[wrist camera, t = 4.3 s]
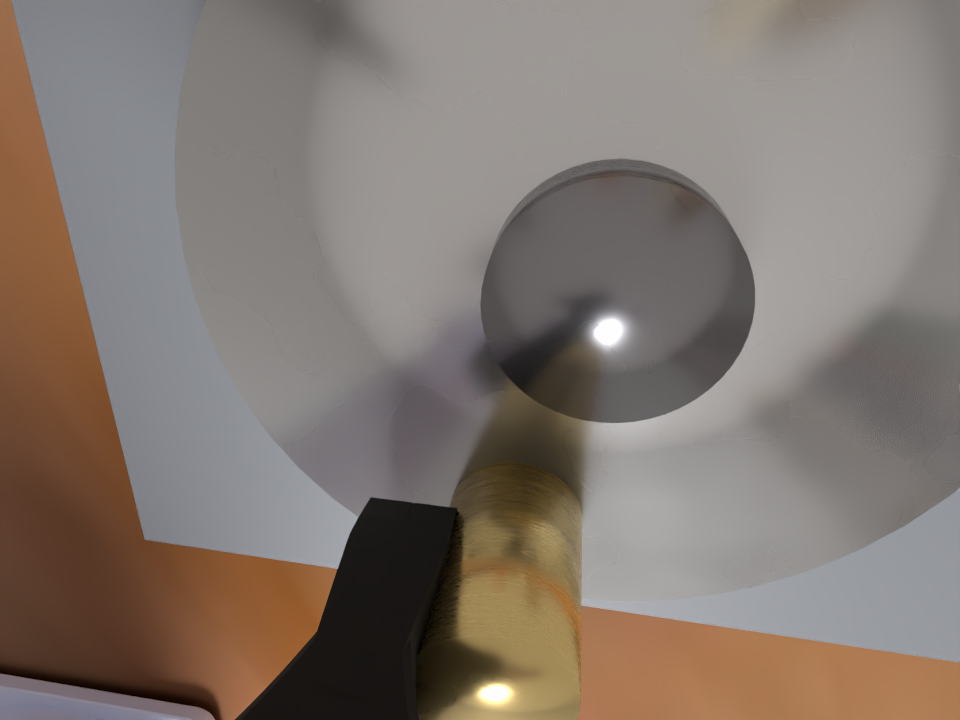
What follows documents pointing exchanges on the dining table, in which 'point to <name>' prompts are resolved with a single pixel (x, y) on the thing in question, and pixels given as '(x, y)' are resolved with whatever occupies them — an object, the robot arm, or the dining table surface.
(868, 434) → the flange plate
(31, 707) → the robot arm
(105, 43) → the jig board
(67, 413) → the dining table surface
